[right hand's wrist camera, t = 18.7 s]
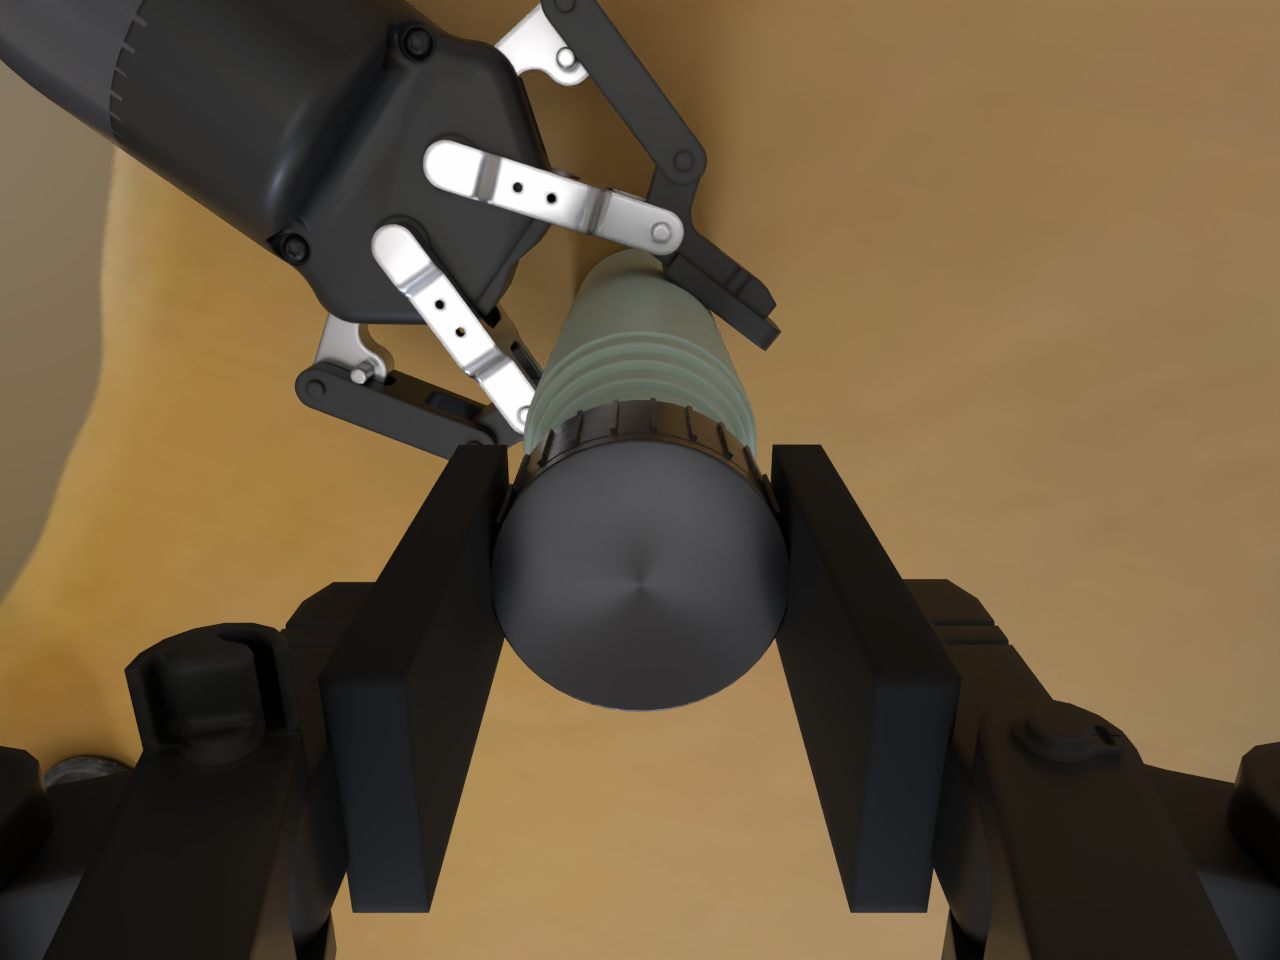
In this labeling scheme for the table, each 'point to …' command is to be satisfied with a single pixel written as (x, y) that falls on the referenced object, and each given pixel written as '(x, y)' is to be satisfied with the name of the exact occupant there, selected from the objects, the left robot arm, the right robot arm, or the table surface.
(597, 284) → the bottle
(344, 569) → the table surface
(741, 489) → the cap
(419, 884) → the right robot arm
